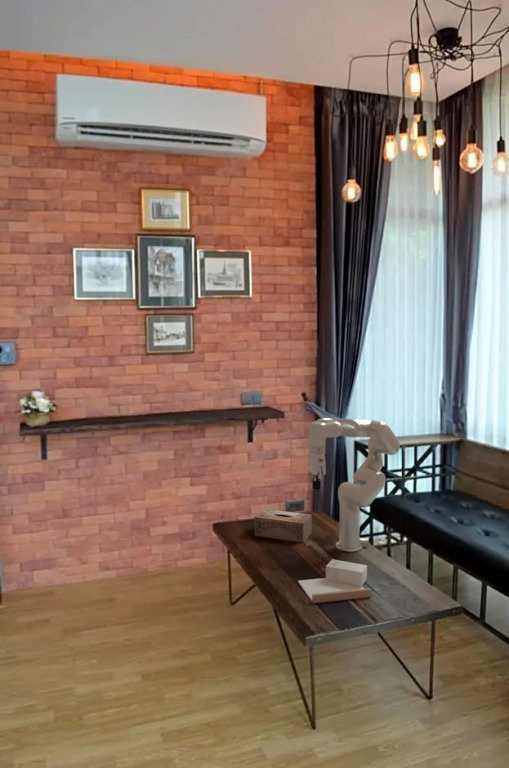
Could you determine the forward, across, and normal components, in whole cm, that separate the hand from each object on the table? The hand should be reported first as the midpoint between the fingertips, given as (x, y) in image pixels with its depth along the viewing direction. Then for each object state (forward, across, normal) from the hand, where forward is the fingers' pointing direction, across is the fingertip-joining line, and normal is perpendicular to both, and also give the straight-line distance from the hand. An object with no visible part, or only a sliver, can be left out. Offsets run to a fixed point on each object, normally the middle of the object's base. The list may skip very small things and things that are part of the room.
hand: (316, 488), depth 273 cm
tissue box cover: (+33, +32, +6) cm, 46 cm away
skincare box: (+28, -23, +2) cm, 36 cm away
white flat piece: (+32, -33, +4) cm, 46 cm away
